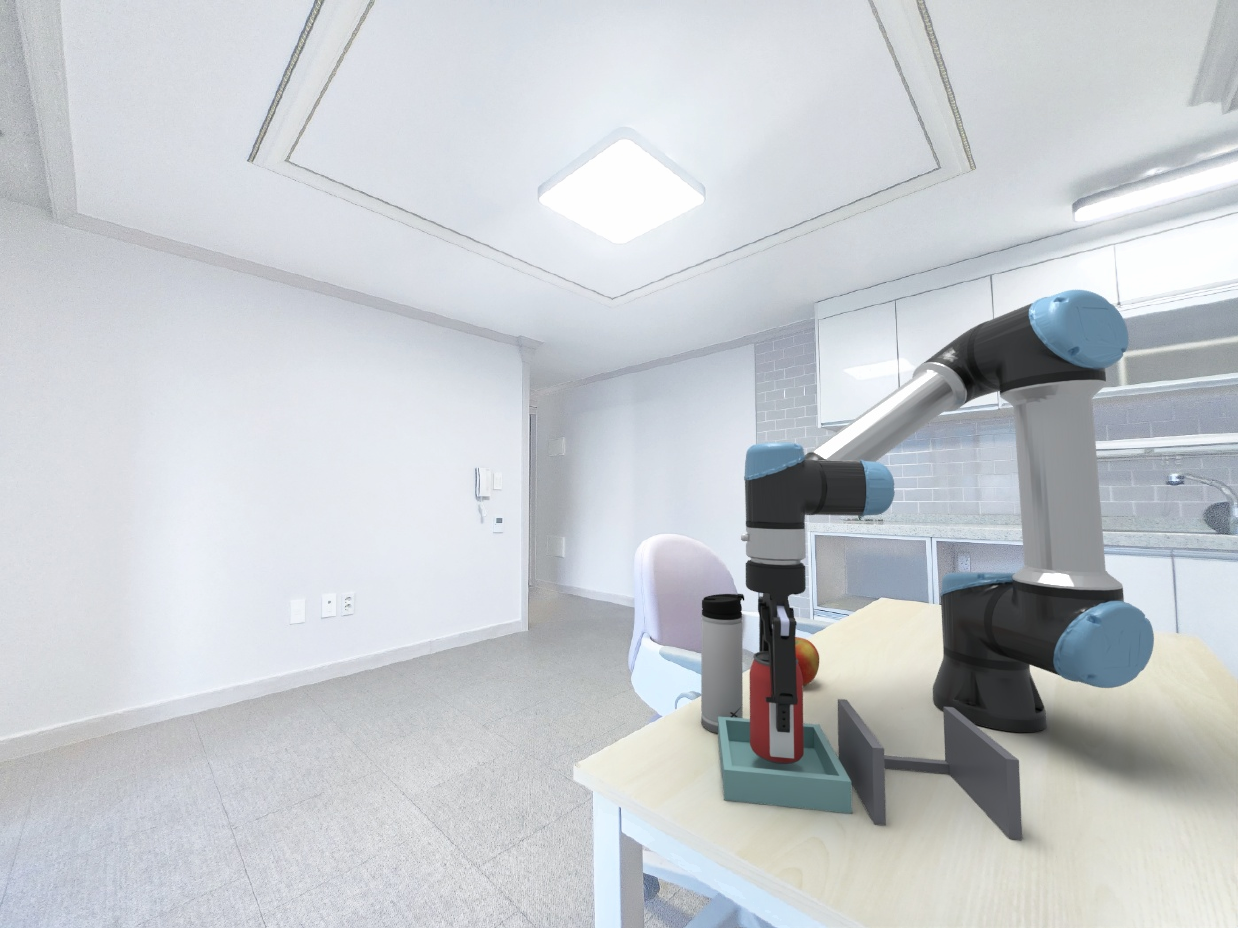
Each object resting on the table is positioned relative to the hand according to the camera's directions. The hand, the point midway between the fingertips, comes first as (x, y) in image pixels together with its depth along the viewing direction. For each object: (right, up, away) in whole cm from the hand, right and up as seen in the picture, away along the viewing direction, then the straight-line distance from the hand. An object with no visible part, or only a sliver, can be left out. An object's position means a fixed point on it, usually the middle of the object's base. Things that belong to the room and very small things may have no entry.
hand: (776, 740), depth 63 cm
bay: (+15, -4, -5) cm, 17 cm away
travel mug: (-4, -5, +12) cm, 14 cm away
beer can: (0, -2, 0) cm, 2 cm away
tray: (0, -4, 0) cm, 4 cm away
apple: (+14, -6, +30) cm, 33 cm away
